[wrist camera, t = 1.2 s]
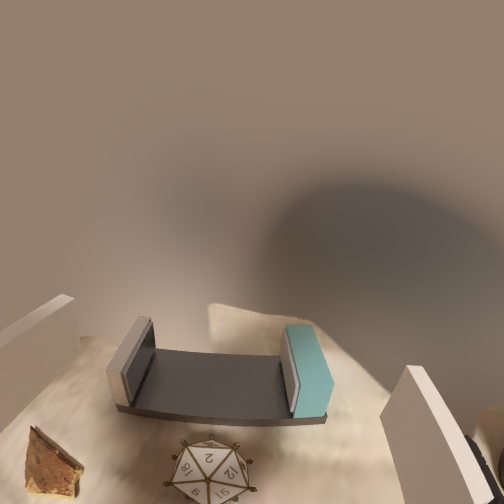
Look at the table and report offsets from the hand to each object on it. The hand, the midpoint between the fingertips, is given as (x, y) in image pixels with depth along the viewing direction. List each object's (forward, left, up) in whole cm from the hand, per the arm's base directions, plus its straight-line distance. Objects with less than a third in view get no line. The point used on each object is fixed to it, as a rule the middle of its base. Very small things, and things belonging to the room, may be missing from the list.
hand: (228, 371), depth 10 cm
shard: (+7, +21, -24) cm, 32 cm away
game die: (+7, +1, -24) cm, 24 cm away
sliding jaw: (+21, -13, -22) cm, 33 cm away
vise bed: (+23, -3, -23) cm, 33 cm away
